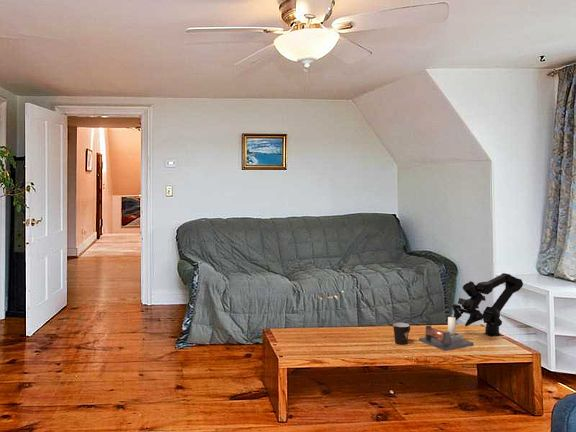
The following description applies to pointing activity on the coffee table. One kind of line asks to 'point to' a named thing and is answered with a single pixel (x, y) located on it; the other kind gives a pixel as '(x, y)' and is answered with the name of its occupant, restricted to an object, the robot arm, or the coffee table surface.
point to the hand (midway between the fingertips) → (459, 323)
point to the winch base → (444, 339)
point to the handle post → (451, 325)
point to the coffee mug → (401, 333)
